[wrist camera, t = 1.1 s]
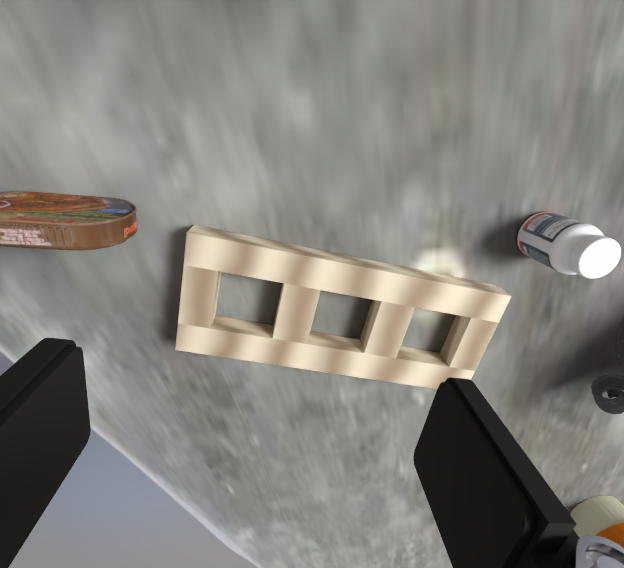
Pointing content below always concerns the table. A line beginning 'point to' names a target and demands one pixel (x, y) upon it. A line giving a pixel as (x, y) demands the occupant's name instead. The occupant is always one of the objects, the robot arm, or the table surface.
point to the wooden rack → (303, 300)
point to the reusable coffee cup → (600, 518)
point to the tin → (64, 221)
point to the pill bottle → (568, 245)
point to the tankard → (611, 383)
